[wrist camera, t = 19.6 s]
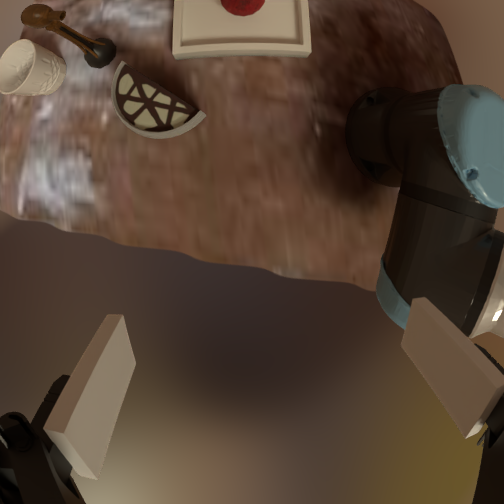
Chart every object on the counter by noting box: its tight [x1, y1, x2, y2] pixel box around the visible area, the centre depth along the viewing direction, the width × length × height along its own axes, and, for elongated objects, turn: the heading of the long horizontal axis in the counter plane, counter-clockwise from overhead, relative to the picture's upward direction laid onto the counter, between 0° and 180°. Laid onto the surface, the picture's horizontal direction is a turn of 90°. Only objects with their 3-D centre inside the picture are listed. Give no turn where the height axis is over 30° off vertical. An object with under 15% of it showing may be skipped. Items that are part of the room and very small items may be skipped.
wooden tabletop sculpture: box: [21, 4, 116, 68], centre depth 24 cm, size 6×5×20 cm
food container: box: [111, 61, 206, 139], centre depth 33 cm, size 12×6×10 cm, turn 52°
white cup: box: [0, 39, 66, 96], centre depth 29 cm, size 8×8×10 cm
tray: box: [172, 0, 311, 60], centre depth 31 cm, size 18×16×3 cm
